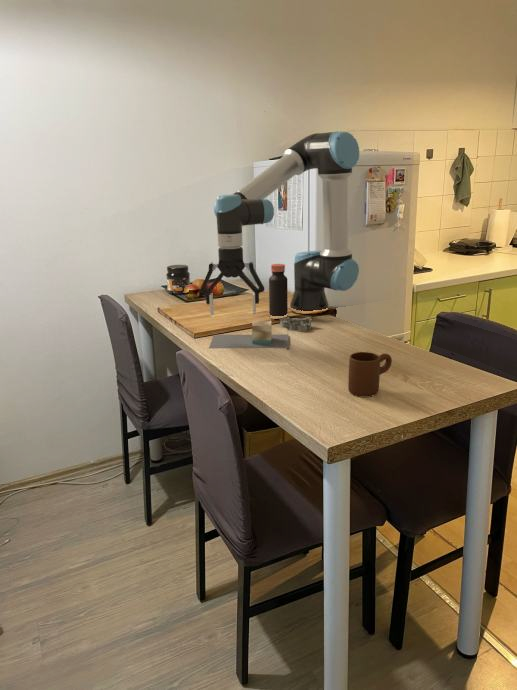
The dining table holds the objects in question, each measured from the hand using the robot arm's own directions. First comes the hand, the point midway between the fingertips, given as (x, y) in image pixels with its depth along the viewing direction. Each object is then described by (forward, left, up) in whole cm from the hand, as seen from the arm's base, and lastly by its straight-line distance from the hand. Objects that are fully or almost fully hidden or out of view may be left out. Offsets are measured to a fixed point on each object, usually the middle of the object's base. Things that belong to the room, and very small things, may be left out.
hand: (233, 313), depth 173 cm
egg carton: (-20, -17, -10) cm, 28 cm away
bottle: (-14, -30, -10) cm, 34 cm away
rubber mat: (-5, 0, -10) cm, 11 cm away
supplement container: (+32, -75, -10) cm, 82 cm away
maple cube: (-9, 0, -3) cm, 10 cm away
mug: (-38, +39, -10) cm, 56 cm away
